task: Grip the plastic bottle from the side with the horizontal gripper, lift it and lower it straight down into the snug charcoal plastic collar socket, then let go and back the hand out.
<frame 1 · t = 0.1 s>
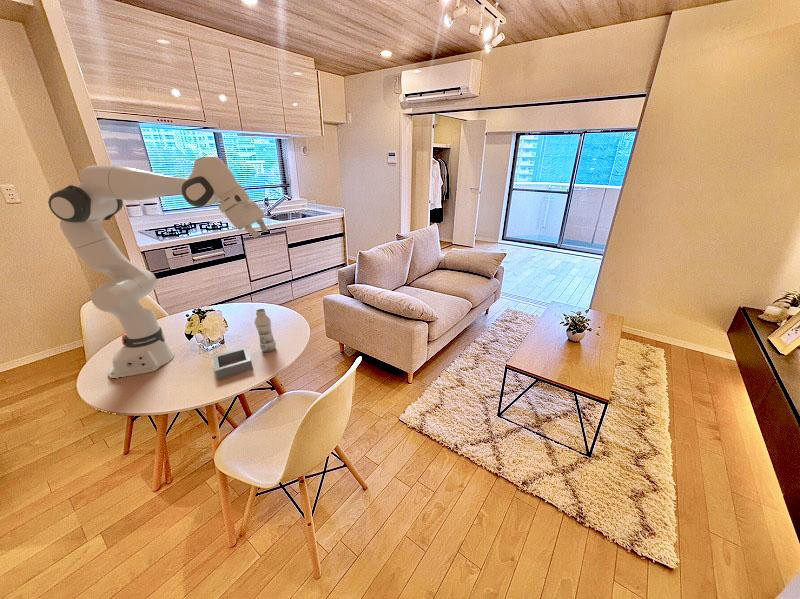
hand: (261, 233, 119), 54 cm above the table, tool tilted 30°, fingers open, 8 cm apart
plastic bottle: (268, 350, 146), on the table
collar socket: (234, 367, 134), on the table
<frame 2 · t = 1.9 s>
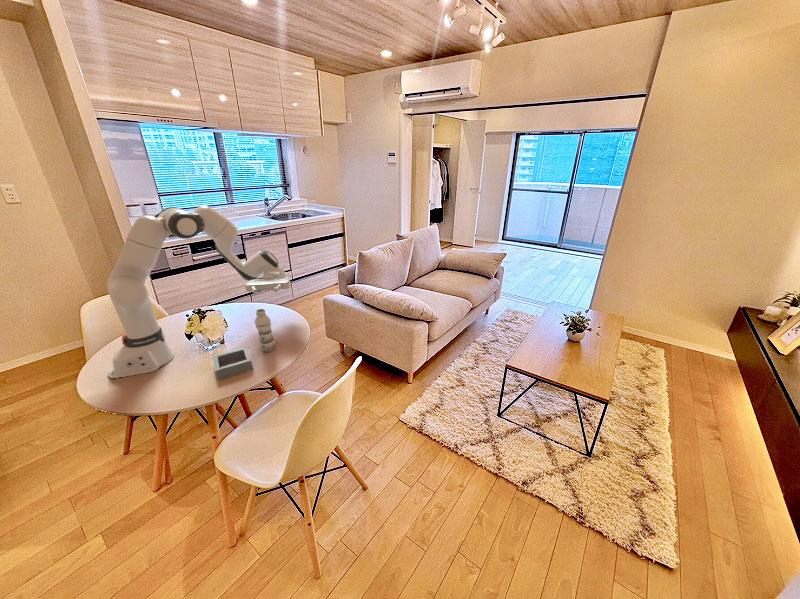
hand: (265, 291, 146), 24 cm above the table, tool horizontal, fingers open, 8 cm apart
nothing on the table moved.
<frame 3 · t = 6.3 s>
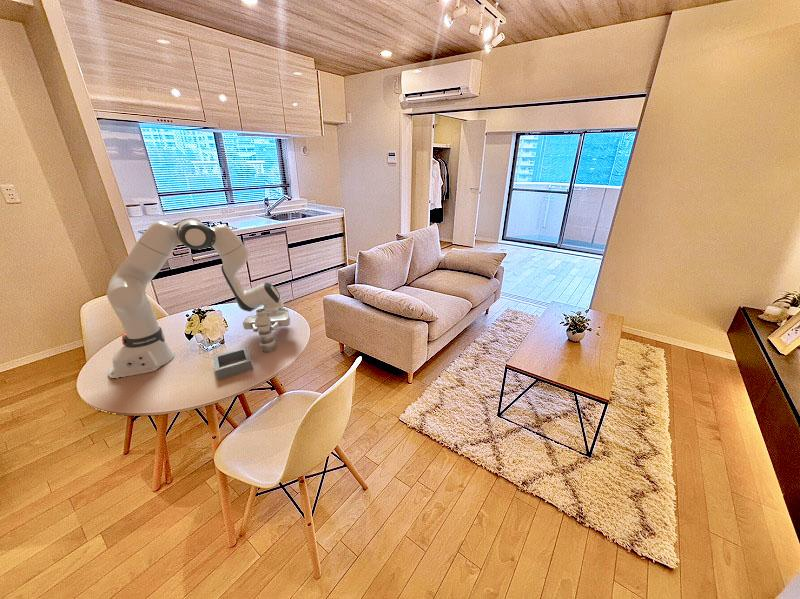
hand: (263, 329, 140), 11 cm above the table, tool horizontal, fingers closed on plastic bottle, 6 cm apart
plastic bottle: (268, 350, 146), on the table, touching gripper
when the fingers open (13 cm above the table, at t = 11.6 s): plastic bottle stays where it is, resting in collar socket.
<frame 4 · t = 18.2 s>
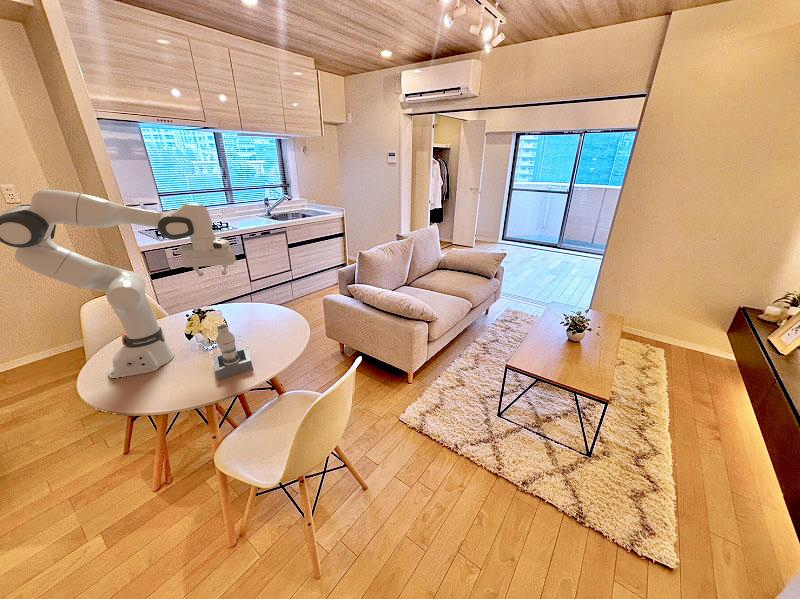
hand: (213, 275, 137), 34 cm above the table, tool pointing down, fingers open, 8 cm apart
plastic bottle: (234, 369, 133), resting in collar socket
at the end: plastic bottle 1.3 cm off-centre on the collar socket, point 0.0 cm above the collar socket's base; plastic bottle tilted 0°; the gripper is holding nothing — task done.
